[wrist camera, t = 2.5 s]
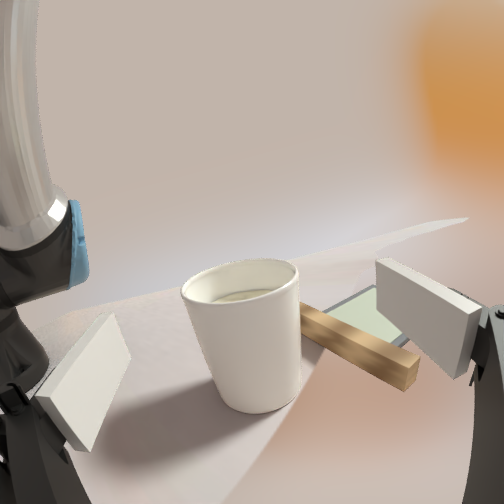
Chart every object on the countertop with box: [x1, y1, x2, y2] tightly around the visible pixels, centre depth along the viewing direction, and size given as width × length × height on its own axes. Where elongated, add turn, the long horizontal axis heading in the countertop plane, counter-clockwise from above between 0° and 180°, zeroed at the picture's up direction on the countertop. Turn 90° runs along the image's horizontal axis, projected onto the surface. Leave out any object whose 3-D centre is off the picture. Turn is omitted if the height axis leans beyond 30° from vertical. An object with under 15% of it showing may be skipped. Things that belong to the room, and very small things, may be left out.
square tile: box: [322, 285, 410, 348], centre depth 34 cm, size 13×13×1 cm
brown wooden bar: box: [299, 301, 420, 392], centre depth 29 cm, size 20×2×3 cm, turn 29°
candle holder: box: [181, 258, 302, 414], centre depth 25 cm, size 10×10×12 cm
